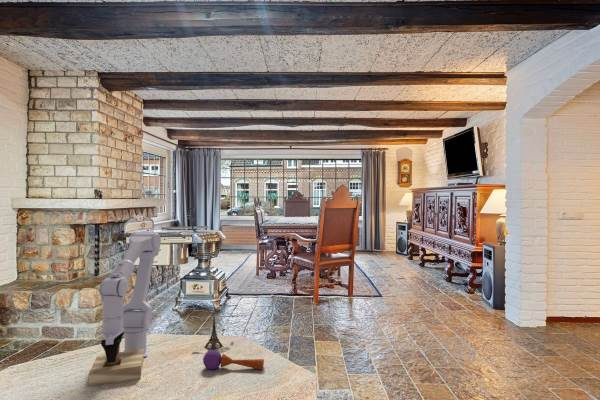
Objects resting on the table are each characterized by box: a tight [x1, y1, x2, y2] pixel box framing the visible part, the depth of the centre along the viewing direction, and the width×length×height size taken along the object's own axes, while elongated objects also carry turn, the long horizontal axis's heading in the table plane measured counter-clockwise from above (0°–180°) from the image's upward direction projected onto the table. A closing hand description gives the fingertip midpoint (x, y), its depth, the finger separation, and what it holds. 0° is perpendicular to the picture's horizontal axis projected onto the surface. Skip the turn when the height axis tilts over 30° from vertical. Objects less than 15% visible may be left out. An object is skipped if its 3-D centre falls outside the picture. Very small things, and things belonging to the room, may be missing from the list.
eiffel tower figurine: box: [191, 315, 234, 355], centre depth 133 cm, size 15×10×13 cm
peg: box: [106, 344, 121, 367], centre depth 111 cm, size 4×4×8 cm
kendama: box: [202, 350, 265, 371], centre depth 117 cm, size 6×6×20 cm
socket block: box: [88, 349, 144, 387], centre depth 113 cm, size 13×14×4 cm
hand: (112, 359), depth 111 cm, fingers closed on peg, 3 cm apart
